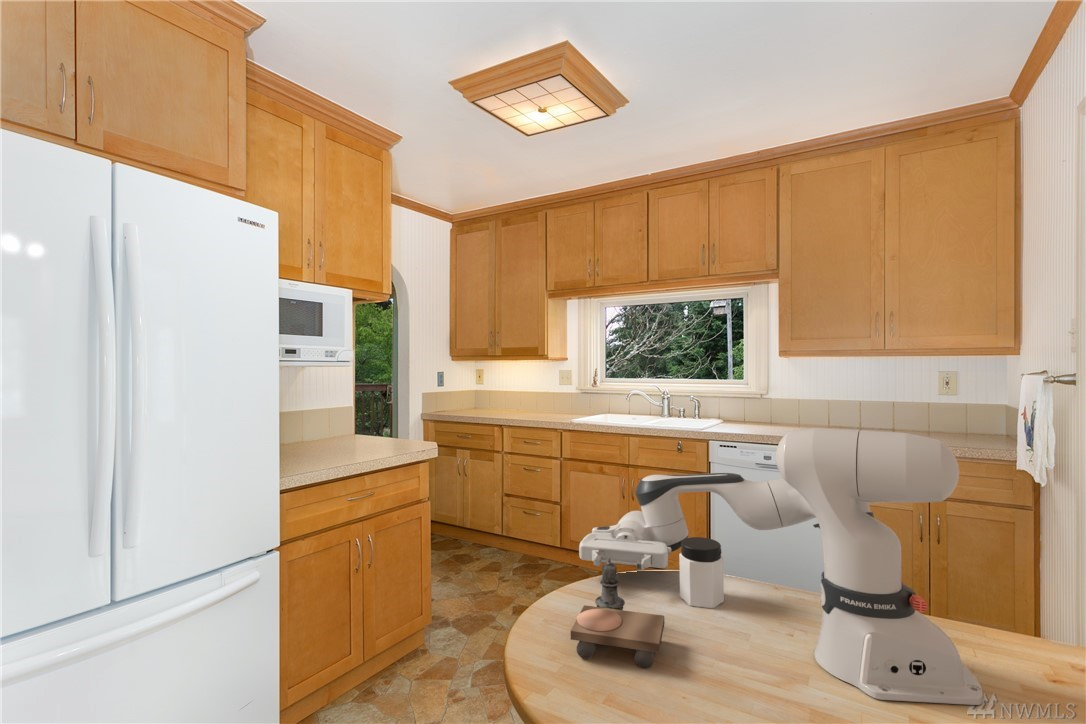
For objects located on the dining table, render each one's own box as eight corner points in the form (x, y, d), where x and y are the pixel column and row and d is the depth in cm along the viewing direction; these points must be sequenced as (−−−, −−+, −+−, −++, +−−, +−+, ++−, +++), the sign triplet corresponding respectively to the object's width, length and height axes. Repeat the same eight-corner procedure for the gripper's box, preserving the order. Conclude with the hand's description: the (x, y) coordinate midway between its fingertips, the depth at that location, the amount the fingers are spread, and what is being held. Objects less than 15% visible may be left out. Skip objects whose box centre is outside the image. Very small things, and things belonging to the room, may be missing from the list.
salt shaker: (627, 626, 102) (626, 564, 102) (596, 627, 102) (595, 564, 102) (623, 612, 108) (622, 553, 108) (594, 612, 108) (593, 553, 108)
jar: (730, 606, 110) (730, 548, 110) (694, 611, 108) (694, 552, 108) (708, 588, 119) (707, 534, 119) (674, 592, 117) (673, 538, 117)
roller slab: (664, 640, 97) (664, 614, 97) (659, 671, 88) (658, 642, 88) (584, 628, 102) (584, 604, 102) (570, 656, 92) (570, 629, 92)
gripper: (672, 560, 125) (667, 584, 112) (587, 552, 132) (573, 573, 119) (672, 533, 125) (667, 554, 112) (587, 526, 132) (572, 545, 119)
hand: (618, 564), depth 115 cm, fingers open, 8 cm apart
